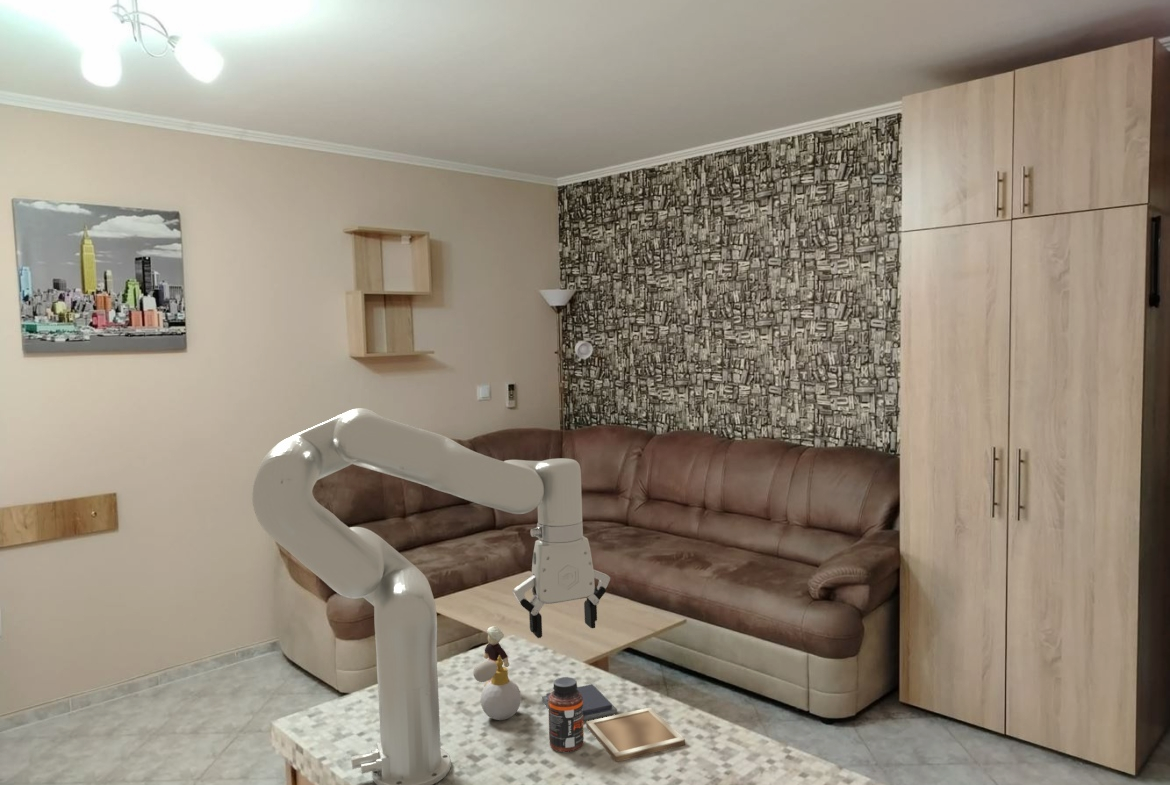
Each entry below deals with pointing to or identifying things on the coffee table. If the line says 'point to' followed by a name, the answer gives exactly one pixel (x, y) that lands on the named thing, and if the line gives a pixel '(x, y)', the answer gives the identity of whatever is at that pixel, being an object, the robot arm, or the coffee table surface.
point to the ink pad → (591, 703)
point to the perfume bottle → (497, 690)
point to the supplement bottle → (565, 716)
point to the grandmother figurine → (495, 647)
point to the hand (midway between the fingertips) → (564, 630)
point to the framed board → (634, 734)
